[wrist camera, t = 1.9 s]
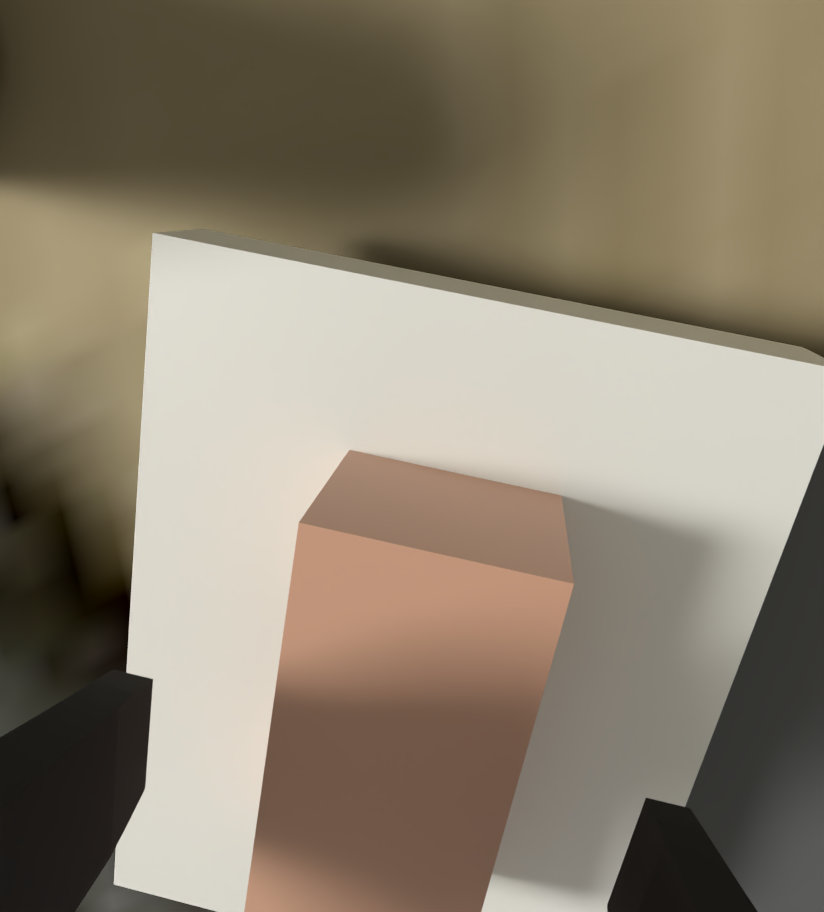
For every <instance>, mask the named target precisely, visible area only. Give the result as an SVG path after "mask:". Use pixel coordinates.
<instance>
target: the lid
mask: <svg viewBox="0 0 824 912" xmlns="http://www.w3.org/2000/svg"><path fill="white" fill-rule="evenodd" d="M823 445H824V358H823V357H821V356H819V355H817V354H815V353H813V352H811V351H809V350H807V349H805V348H803V347H799V346H794V345H789V344H784V343H779V342H774V341H769V340H764V339H759V338H754V337H749V336H744V335H739V334H734V333H729V332H723V331H718V330H713V329H708V328H703V327H698V326H693V325H688V324H683V323H678V322H673V321H668V320H663V319H658V318H653V317H647V316H642V315H637V314H632V313H627V312H622V311H617V310H612V309H607V308H602V307H597V306H592V305H587V304H582V303H577V302H572V301H566V300H561V299H556V298H551V297H546V296H541V295H536V294H531V293H526V292H521V291H516V290H511V289H506V288H501V287H496V286H490V285H485V284H480V283H475V282H470V281H465V280H460V279H455V278H450V277H445V276H440V275H435V274H430V273H425V272H420V271H414V270H409V269H404V268H399V267H394V266H389V265H384V264H379V263H374V262H369V261H364V260H359V259H354V258H349V257H344V256H338V255H333V254H328V253H323V252H318V251H313V250H308V249H303V248H298V247H293V246H288V245H283V244H278V243H273V242H268V241H262V240H257V239H252V238H247V237H242V236H237V235H232V234H227V233H222V232H217V231H212V230H207V229H196V230H183V231H170V232H157V233H153V238H152V254H151V271H150V288H149V304H148V321H147V338H146V354H145V371H144V388H143V404H142V421H141V438H140V455H139V471H138V488H137V505H136V521H135V538H134V555H133V571H132V588H131V605H130V621H129V638H128V655H127V672H126V673H130V674H134V675H138V676H142V677H147V678H151V679H153V687H152V700H151V714H150V728H149V742H148V756H147V770H146V784H145V790H144V792H143V794H142V796H141V798H140V800H139V802H138V804H137V806H136V808H135V810H134V812H133V814H132V816H131V818H130V820H129V822H128V824H127V826H126V828H125V830H124V832H123V834H122V836H121V838H120V840H119V842H118V843H117V845H116V855H115V872H114V885H118V886H122V887H126V888H130V889H133V890H137V891H141V892H145V893H149V894H152V895H156V896H160V897H164V898H168V899H171V900H175V901H179V902H183V903H187V904H191V905H194V906H198V907H202V908H206V909H210V910H213V911H217V912H607V904H608V901H609V898H610V896H611V893H612V890H613V887H614V885H615V882H616V879H617V876H618V874H619V871H620V868H621V865H622V862H623V860H624V857H625V854H626V851H627V849H628V846H629V843H630V840H631V837H632V835H633V832H634V829H635V826H636V824H637V821H638V818H639V815H640V813H641V810H642V807H643V804H644V801H645V799H646V798H650V799H654V800H658V801H662V802H667V803H671V804H675V805H679V806H683V807H685V806H686V803H687V800H688V798H689V795H690V793H691V790H692V787H693V785H694V782H695V779H696V777H697V774H698V772H699V769H700V766H701V764H702V761H703V759H704V756H705V753H706V751H707V748H708V745H709V743H710V740H711V738H712V735H713V732H714V730H715V727H716V725H717V722H718V719H719V717H720V714H721V712H722V709H723V706H724V704H725V701H726V698H727V696H728V693H729V691H730V688H731V685H732V683H733V680H734V678H735V675H736V672H737V670H738V667H739V664H740V662H741V659H742V657H743V654H744V651H745V649H746V646H747V644H748V641H749V638H750V636H751V633H752V630H753V628H754V625H755V623H756V620H757V617H758V615H759V612H760V610H761V607H762V604H763V602H764V599H765V597H766V594H767V591H768V589H769V586H770V583H771V581H772V578H773V576H774V573H775V570H776V568H777V565H778V563H779V560H780V557H781V555H782V552H783V549H784V547H785V544H786V542H787V539H788V536H789V534H790V531H791V529H792V526H793V523H794V521H795V518H796V516H797V513H798V510H799V508H800V505H801V502H802V500H803V497H804V495H805V492H806V489H807V487H808V484H809V482H810V479H811V476H812V474H813V471H814V468H815V466H816V463H817V461H818V458H819V455H820V453H821V450H822V448H823Z"/></svg>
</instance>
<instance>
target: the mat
mask: <svg viewBox="0 0 824 912" xmlns="http://www.w3.org/2000/svg"><path fill="white" fill-rule="evenodd" d="M685 807H687V808H690V809H691V810H692V812H693V813H694V815H695V816H696V818H697V819H698V821H699V823H700V824H701V826H702V827H703V829H704V830H705V832H706V833H707V835H708V836H709V838H710V839H711V841H712V843H713V844H714V846H715V847H716V849H717V850H718V852H719V853H720V855H721V857H722V858H723V860H724V861H725V863H726V864H727V866H728V867H729V869H730V870H731V872H732V873H733V875H734V877H735V878H736V880H737V881H738V883H739V884H740V886H741V887H742V889H743V890H744V892H745V893H746V895H747V896H748V898H749V899H750V901H751V902H752V904H753V905H754V907H755V908H756V910H757V911H758V912H824V445H823V448H822V450H821V453H820V455H819V458H818V461H817V463H816V466H815V468H814V471H813V474H812V476H811V479H810V482H809V484H808V487H807V489H806V492H805V495H804V497H803V500H802V502H801V505H800V508H799V510H798V513H797V516H796V518H795V521H794V523H793V526H792V529H791V531H790V534H789V536H788V539H787V542H786V544H785V547H784V549H783V552H782V555H781V557H780V560H779V563H778V565H777V568H776V570H775V573H774V576H773V578H772V581H771V583H770V586H769V589H768V591H767V594H766V597H765V599H764V602H763V604H762V607H761V610H760V612H759V615H758V617H757V620H756V623H755V625H754V628H753V630H752V633H751V636H750V638H749V641H748V644H747V646H746V649H745V651H744V654H743V657H742V659H741V662H740V664H739V667H738V670H737V672H736V675H735V678H734V680H733V683H732V685H731V688H730V691H729V693H728V696H727V698H726V701H725V704H724V706H723V709H722V712H721V714H720V717H719V719H718V722H717V725H716V727H715V730H714V732H713V735H712V738H711V740H710V743H709V745H708V748H707V751H706V753H705V756H704V759H703V761H702V764H701V766H700V769H699V772H698V774H697V777H696V779H695V782H694V785H693V787H692V790H691V793H690V795H689V798H688V800H687V803H686V806H685Z"/></svg>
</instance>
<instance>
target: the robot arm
mask: <svg viewBox="0 0 824 912" xmlns="http://www.w3.org/2000/svg"><path fill="white" fill-rule="evenodd" d="M152 687H153V679H151V678H147V677H142V676H138V675H134V674H130V673H126V672H122V671H117V670H112V671H110V672H109V673H107V674H105V675H103V676H102V677H100V678H98V679H97V680H95V681H93V682H92V683H90V684H88V685H87V686H85V687H83V688H82V689H80V690H78V691H77V692H75V693H73V694H72V695H70V696H68V697H67V698H65V699H64V700H62V701H60V702H59V703H57V704H55V705H54V706H52V707H50V708H49V709H47V710H45V711H44V712H42V713H40V714H39V715H37V716H36V717H34V718H32V719H31V720H29V721H27V722H26V723H24V724H22V725H21V726H19V727H17V728H15V729H14V730H12V731H10V732H9V733H7V734H5V735H3V736H2V737H0V912H75V911H76V909H77V908H78V906H79V904H80V903H81V901H82V900H83V898H84V897H85V895H86V894H87V892H88V891H89V889H90V888H91V886H92V885H93V883H94V882H95V880H96V878H97V877H98V875H99V874H100V872H101V871H102V869H103V868H104V866H105V865H106V863H107V861H108V860H109V858H110V857H111V855H112V853H113V851H114V849H115V847H116V845H117V843H118V842H119V840H120V838H121V836H122V834H123V832H124V830H125V828H126V826H127V824H128V822H129V820H130V818H131V816H132V814H133V812H134V810H135V808H136V806H137V804H138V802H139V800H140V798H141V796H142V794H143V792H144V790H145V784H146V770H147V756H148V742H149V728H150V714H151V700H152ZM607 912H758V911H757V910H756V908H755V907H754V905H753V904H752V902H751V901H750V899H749V898H748V896H747V895H746V893H745V892H744V890H743V889H742V887H741V886H740V884H739V883H738V881H737V880H736V878H735V877H734V875H733V873H732V872H731V870H730V869H729V867H728V866H727V864H726V863H725V861H724V860H723V858H722V857H721V855H720V853H719V852H718V850H717V849H716V847H715V846H714V844H713V843H712V841H711V839H710V838H709V836H708V835H707V833H706V832H705V830H704V829H703V827H702V826H701V824H700V823H699V821H698V819H697V818H696V816H695V815H694V813H693V812H692V810H691V809H690V808H687V807H683V806H679V805H675V804H671V803H667V802H662V801H658V800H654V799H650V798H646V799H645V801H644V804H643V807H642V810H641V813H640V815H639V818H638V821H637V824H636V826H635V829H634V832H633V835H632V837H631V840H630V843H629V846H628V849H627V851H626V854H625V857H624V860H623V862H622V865H621V868H620V871H619V874H618V876H617V879H616V882H615V885H614V887H613V890H612V893H611V896H610V898H609V901H608V904H607Z"/></svg>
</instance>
